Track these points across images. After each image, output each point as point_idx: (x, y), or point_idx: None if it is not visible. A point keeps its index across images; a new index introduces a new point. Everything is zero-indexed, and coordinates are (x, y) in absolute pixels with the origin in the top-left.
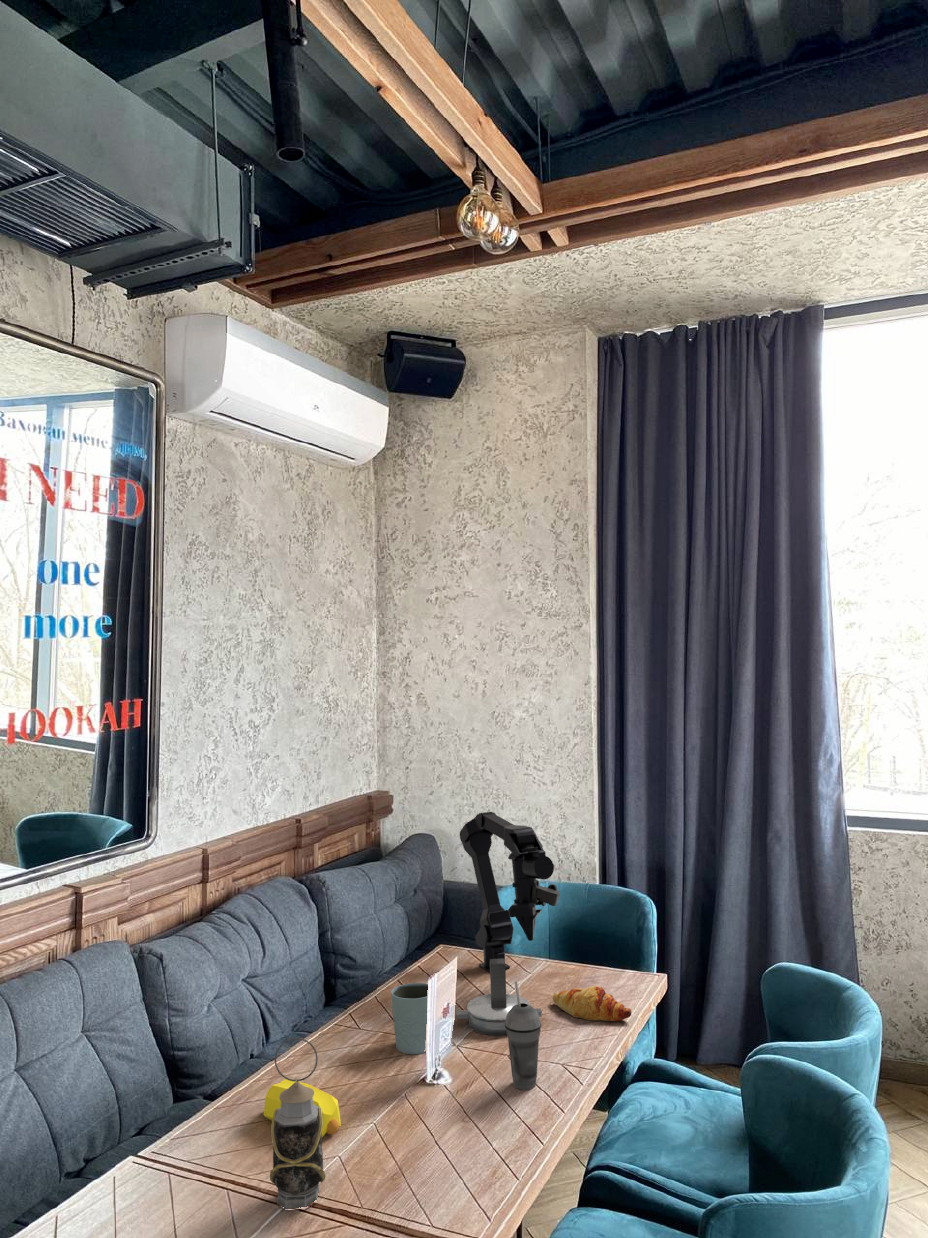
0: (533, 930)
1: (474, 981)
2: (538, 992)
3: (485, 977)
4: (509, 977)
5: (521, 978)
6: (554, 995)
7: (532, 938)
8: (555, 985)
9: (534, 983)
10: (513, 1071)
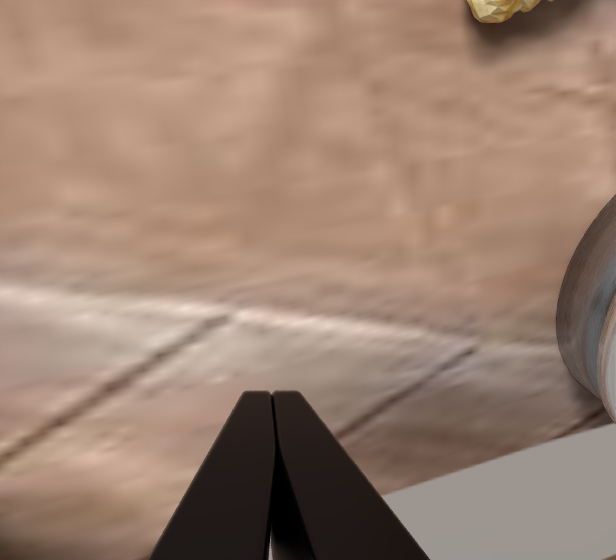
0: (331, 510)
1: (146, 537)
2: (258, 156)
3: (61, 512)
4: (11, 395)
5: (3, 319)
6: (514, 4)
7: (313, 412)
8: (79, 38)
9: (81, 213)
10: None
